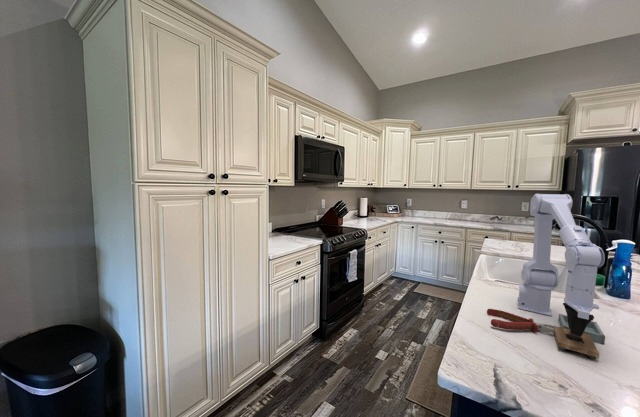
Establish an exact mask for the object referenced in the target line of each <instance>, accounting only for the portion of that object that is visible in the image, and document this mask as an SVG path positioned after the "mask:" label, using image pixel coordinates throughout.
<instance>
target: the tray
mask: <svg viewBox="0 0 640 417" xmlns="http://www.w3.org/2000/svg"><path fill="white" fill-rule="evenodd" d="M557 320H558V324H559V327H561V328H565V329H569V325H568V318H567V314H564V313H563V314H561V313H558V319H557ZM569 330H570V329H569ZM584 333H585V334H589V335H590V336H591V338H592V340H593V342H594V343H598V344H602V345H605V341H606V336H605V334H604V333H603V330H602V329H601V327H600V326H599V324H598V323H597V321H594V320H592V321H591V322H590V323H589V324H588V325H587V326H586V328H585V330H584Z"/></svg>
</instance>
